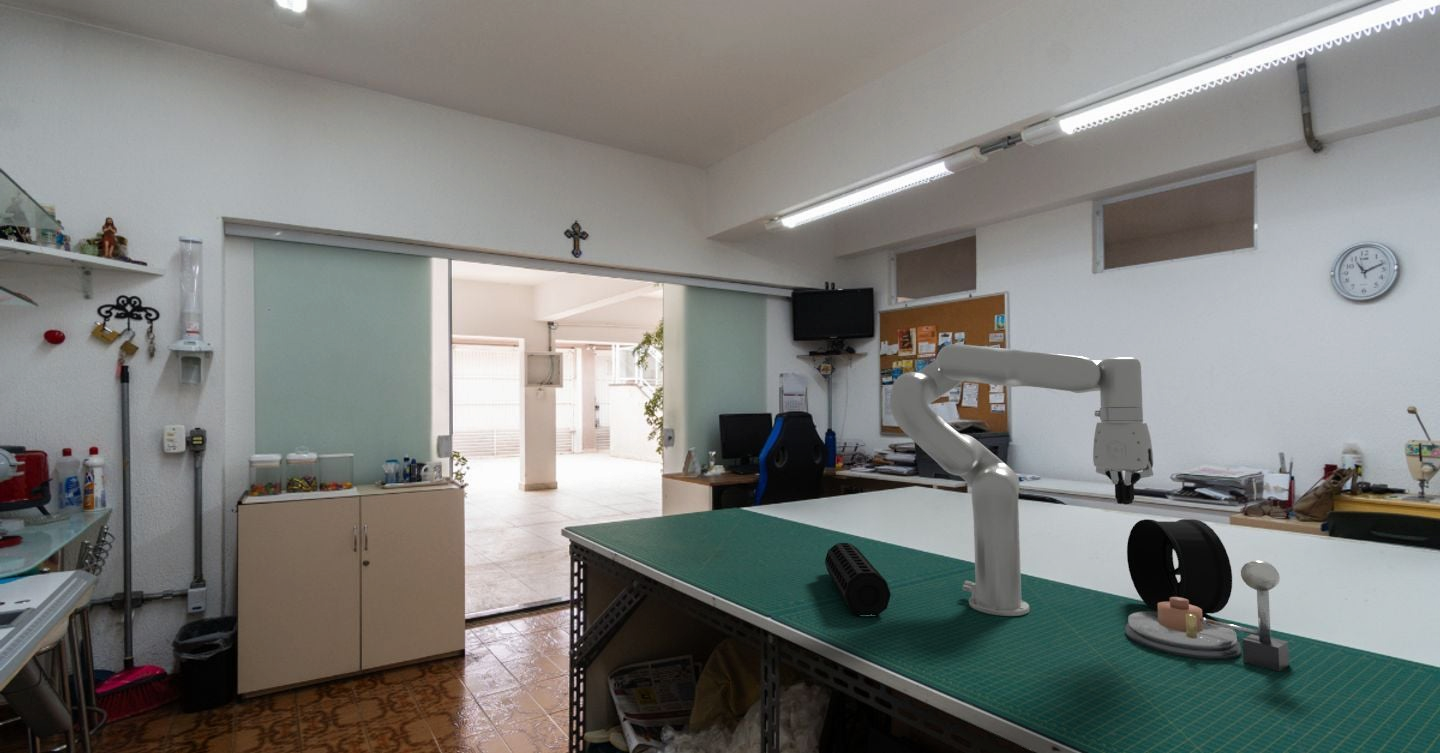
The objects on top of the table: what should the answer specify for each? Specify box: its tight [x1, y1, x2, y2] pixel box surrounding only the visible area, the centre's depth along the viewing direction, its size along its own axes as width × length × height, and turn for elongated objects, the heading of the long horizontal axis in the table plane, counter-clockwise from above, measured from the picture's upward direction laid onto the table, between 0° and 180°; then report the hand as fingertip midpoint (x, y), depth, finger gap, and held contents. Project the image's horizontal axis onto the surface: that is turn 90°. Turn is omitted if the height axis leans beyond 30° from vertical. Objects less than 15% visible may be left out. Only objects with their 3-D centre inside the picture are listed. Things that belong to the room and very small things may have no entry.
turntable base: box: [1125, 622, 1242, 661], centre depth 123 cm, size 18×18×1 cm
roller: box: [824, 542, 891, 616], centre depth 157 cm, size 38×10×10 cm, turn 179°
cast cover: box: [1158, 597, 1203, 632], centre depth 123 cm, size 7×7×5 cm
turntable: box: [1127, 610, 1238, 650], centre depth 123 cm, size 17×17×6 cm
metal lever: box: [1201, 559, 1290, 673], centre depth 116 cm, size 12×5×18 cm, turn 34°
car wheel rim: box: [1126, 518, 1233, 614], centre depth 141 cm, size 20×10×20 cm, turn 175°
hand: (1124, 503), depth 134 cm, fingers closed
